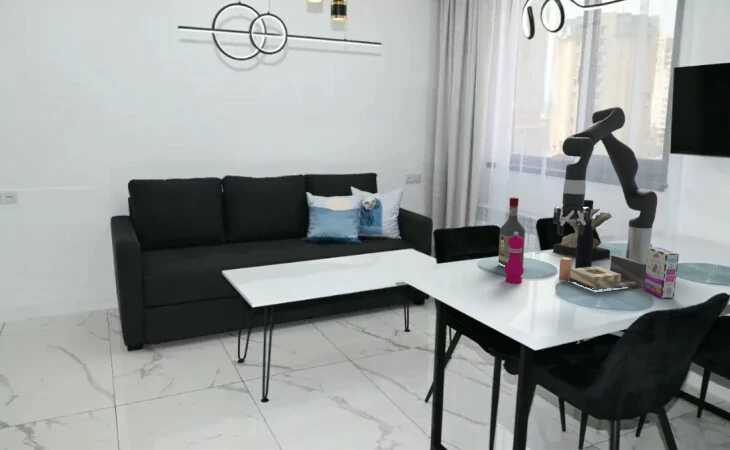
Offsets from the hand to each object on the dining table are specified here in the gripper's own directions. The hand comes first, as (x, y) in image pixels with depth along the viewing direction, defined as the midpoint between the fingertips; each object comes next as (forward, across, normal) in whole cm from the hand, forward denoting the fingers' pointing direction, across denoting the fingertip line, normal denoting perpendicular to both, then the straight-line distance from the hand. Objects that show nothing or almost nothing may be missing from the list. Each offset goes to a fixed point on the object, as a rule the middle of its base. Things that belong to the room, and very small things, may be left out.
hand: (570, 235), depth 201 cm
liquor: (+20, +5, -33) cm, 39 cm away
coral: (+19, -41, -47) cm, 65 cm away
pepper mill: (+21, +16, -12) cm, 28 cm away
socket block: (+19, -12, +1) cm, 22 cm away
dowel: (+20, -7, -11) cm, 24 cm away
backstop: (+20, -17, 0) cm, 26 cm away
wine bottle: (+20, -21, -19) cm, 35 cm away
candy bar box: (+20, -28, +16) cm, 38 cm away
